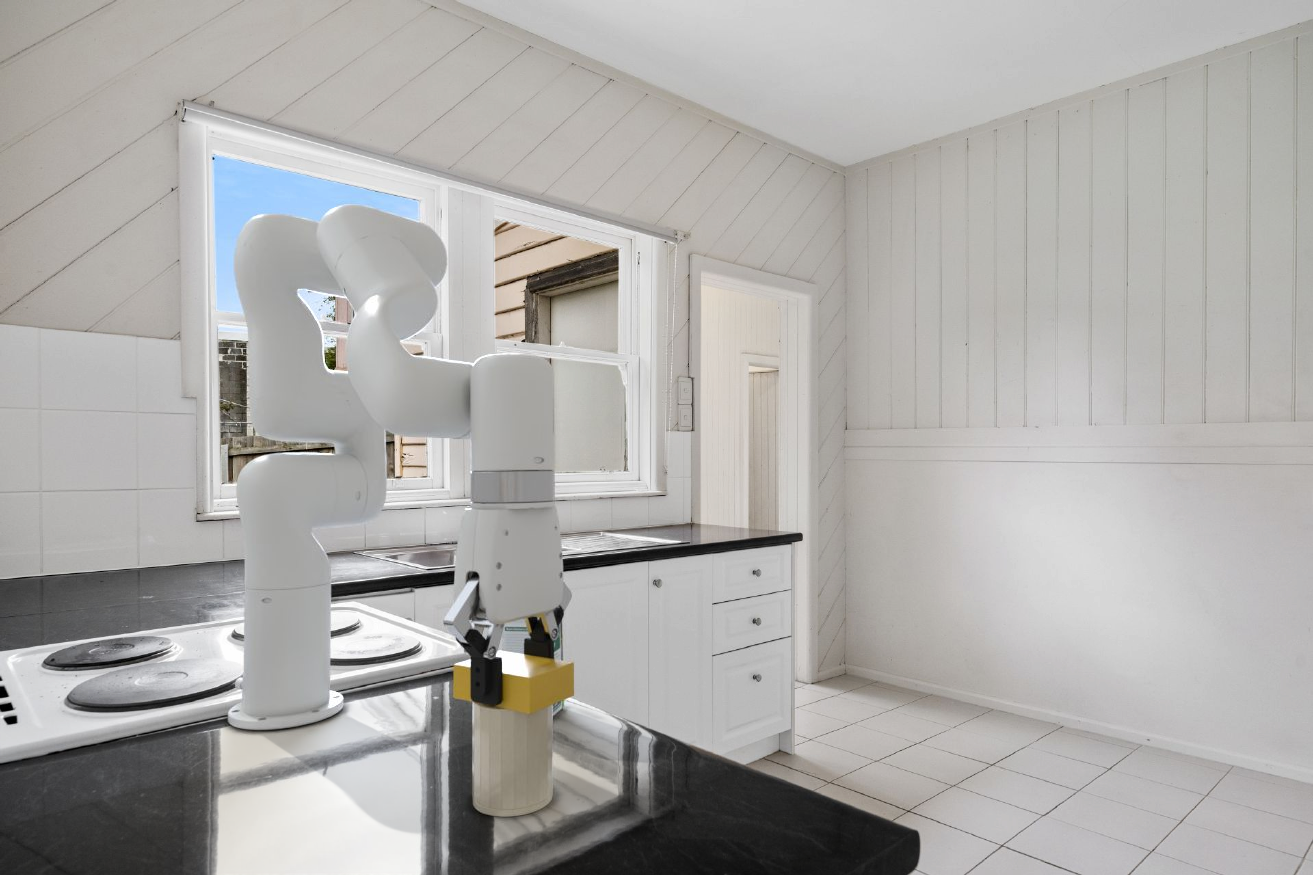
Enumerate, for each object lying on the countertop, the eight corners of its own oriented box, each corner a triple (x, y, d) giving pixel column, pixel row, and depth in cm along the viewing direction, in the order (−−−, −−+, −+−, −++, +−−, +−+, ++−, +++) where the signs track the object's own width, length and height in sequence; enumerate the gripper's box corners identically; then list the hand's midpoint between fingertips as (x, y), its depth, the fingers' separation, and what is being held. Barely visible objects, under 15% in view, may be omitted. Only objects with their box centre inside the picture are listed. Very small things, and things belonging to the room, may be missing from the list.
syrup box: (548, 723, 88) (548, 596, 88) (500, 720, 89) (500, 595, 89) (564, 707, 93) (564, 589, 94) (519, 705, 94) (519, 588, 95)
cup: (455, 804, 66) (455, 700, 67) (510, 776, 72) (510, 681, 73) (515, 824, 63) (515, 713, 63) (568, 792, 69) (568, 692, 69)
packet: (453, 697, 68) (453, 664, 68) (500, 681, 73) (499, 650, 73) (529, 714, 63) (529, 677, 63) (574, 695, 68) (574, 662, 68)
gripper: (543, 489, 78) (544, 665, 77) (408, 494, 63) (407, 712, 62) (602, 489, 74) (604, 675, 73) (473, 495, 59) (473, 728, 59)
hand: (513, 690), depth 68 cm, fingers open, 6 cm apart
